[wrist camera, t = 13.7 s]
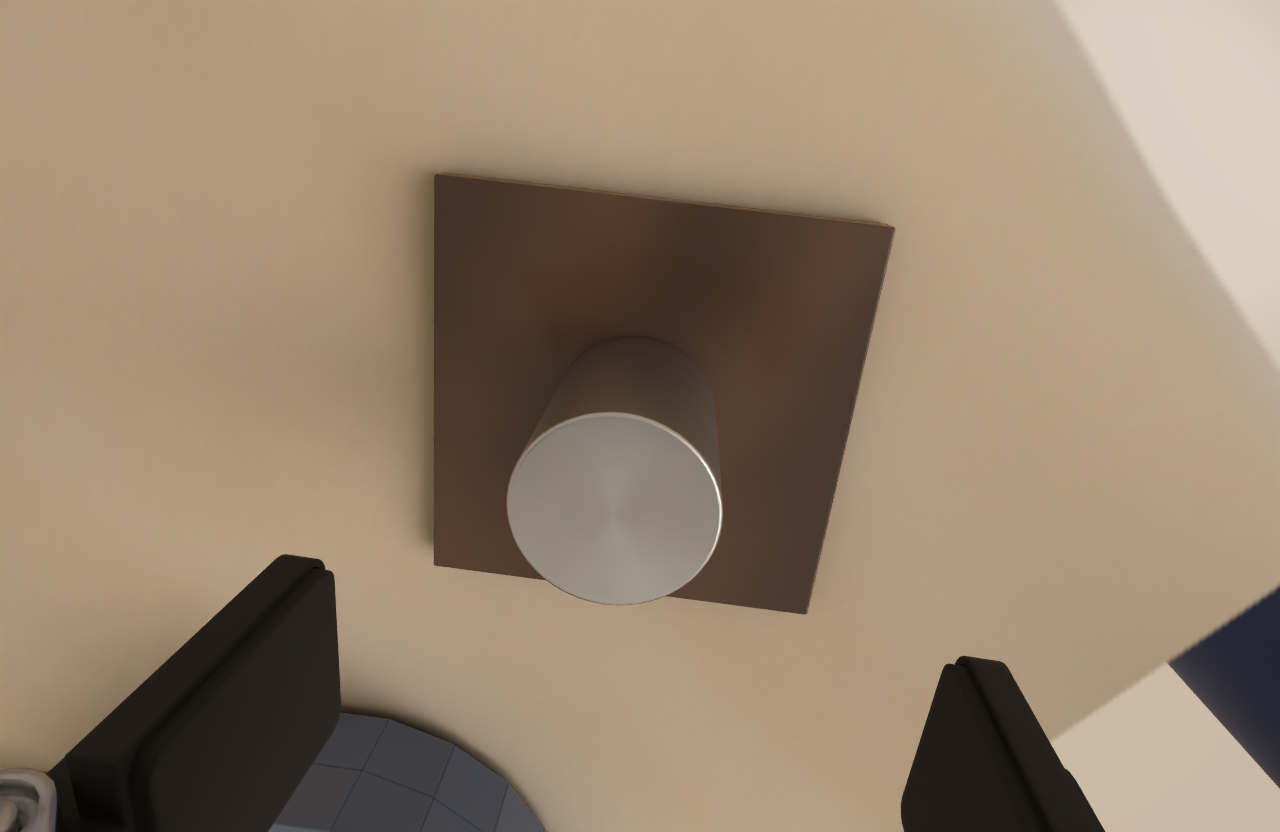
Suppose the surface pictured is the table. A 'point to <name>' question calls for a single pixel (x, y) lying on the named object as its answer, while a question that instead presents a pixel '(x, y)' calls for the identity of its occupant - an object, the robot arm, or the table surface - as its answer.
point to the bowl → (400, 786)
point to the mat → (661, 310)
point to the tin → (621, 476)
